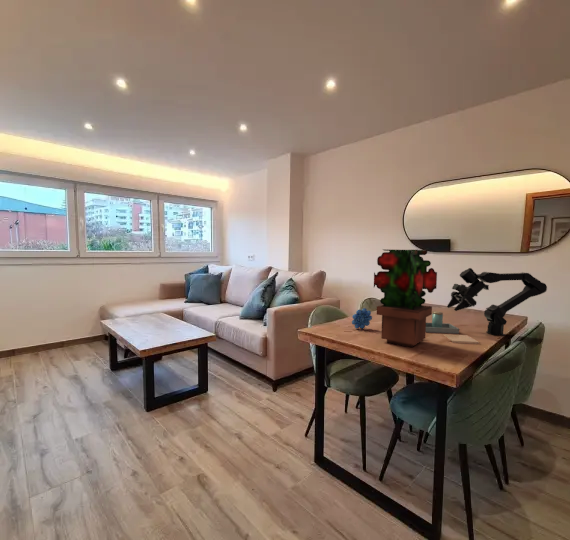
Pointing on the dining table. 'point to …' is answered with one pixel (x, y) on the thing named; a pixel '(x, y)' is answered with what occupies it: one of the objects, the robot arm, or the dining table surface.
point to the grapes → (361, 318)
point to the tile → (461, 339)
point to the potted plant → (404, 295)
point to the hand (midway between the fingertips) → (451, 308)
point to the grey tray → (445, 328)
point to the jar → (437, 319)
